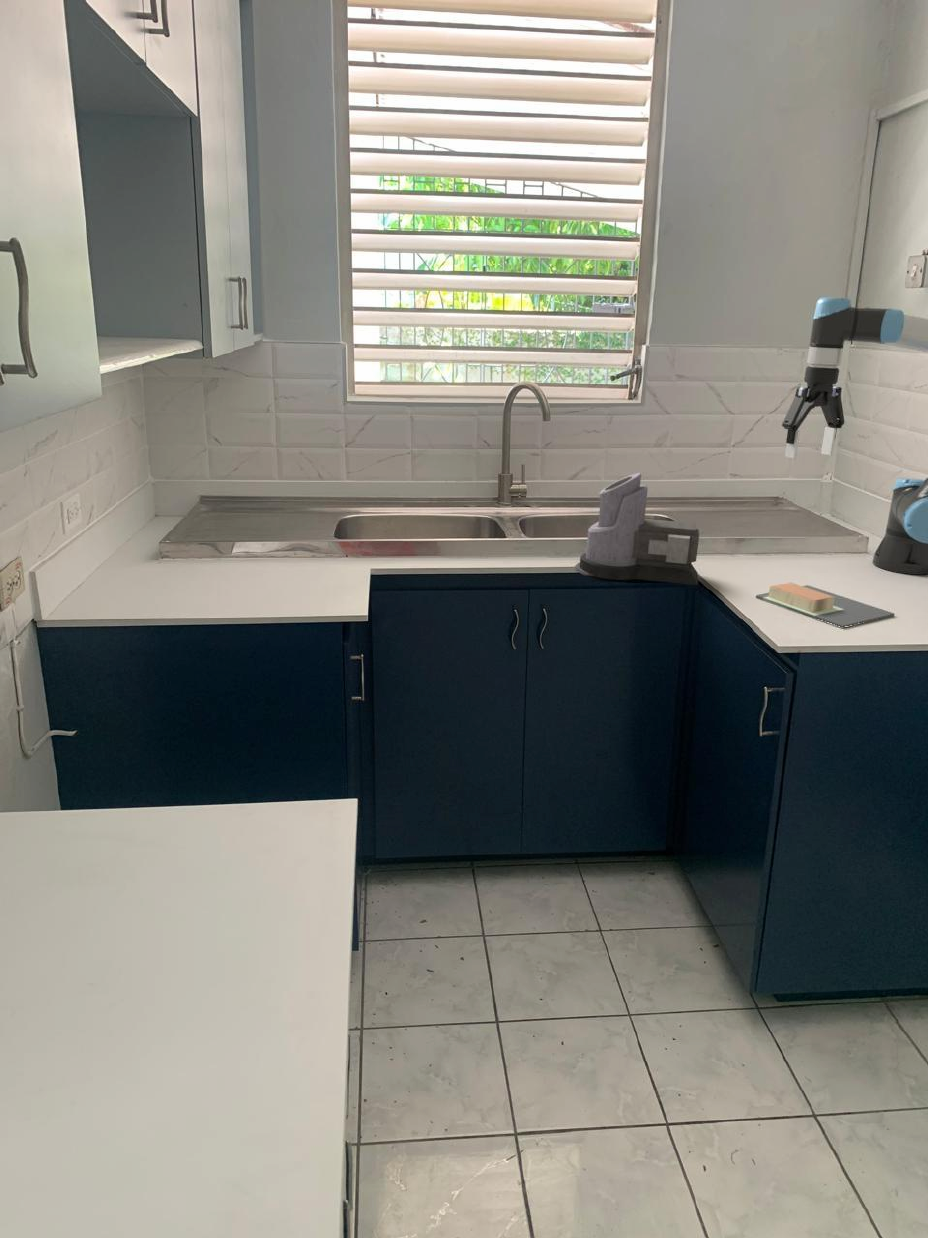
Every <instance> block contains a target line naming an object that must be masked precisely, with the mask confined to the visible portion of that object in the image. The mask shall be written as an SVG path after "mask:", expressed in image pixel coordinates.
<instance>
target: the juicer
mask: <svg viewBox="0 0 928 1238" xmlns="http://www.w3.org/2000/svg"><path fill="white" fill-rule="evenodd" d="M641 480H642V473H641V472H637V473H633V474H631V475H628V476H626V477H622V479H618V480H617V481H614V482H613V483H611V484H610V485H608V486H606V487H604V488H602V489H601V490H600V492H599V494H598V499H600V503H599V504H600V505H599V515H598V521H597V522H595V523H594V524H592V525H590V527H589V528H588V530H587V538H586V539H587V541H586V549H585V550H586V551H585V552H584V553H582V554H580V556H579V562H578V563H576V565H575V566H574V569H575V571H576V572H577V573H579V574H580V575H583V576H586V577H595V578H600V579H604V580H605V579H606V580H619V581H620V580H621V581H623V580H624V581H626V580H627V581H628V580H641V581H642V580H643V581H652V582H662V583H663V582H664V583H670V584H671V583H672V584H680V585H681V584H683V585H691V586H699V579H698V571H697V569H696V568H695V567H694V566H693V564H692V563H695V562H697V556H698V550H699V549H698V548H699V540H700V529H699V528H696V525H697V524H696V523H695V522H688V521H677V520H676V521H673V520H663V519H662V520H661V519H650V518H646V507H647V500H648V492H649V491H648V490H649V486H647V485H646V484H641Z"/></svg>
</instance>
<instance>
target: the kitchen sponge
mask: <svg viewBox="0 0 928 1238" xmlns="http://www.w3.org/2000/svg"><path fill="white" fill-rule="evenodd" d="M803 586H804V585H799V584H796V583H793V582H787V583H782V584H777V585H770V587H769V592H768V593H769V598H772V599H775V600H778V601H781V602H784V603H786V604H789V605H792V606H795V607H798V608H800V609H803V610H806V611H809V612H812V613H813V612H818V611H823V610H827V609H832V608H833V606H834V600H835V597H833V596H830V595H827V594H824V593H821V592H818V591H815V590H812V589H809V588H806V587H803Z"/></svg>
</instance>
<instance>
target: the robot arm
mask: <svg viewBox="0 0 928 1238" xmlns="http://www.w3.org/2000/svg"><path fill="white" fill-rule="evenodd" d="M851 301H852V300H851V299H850V298H848V297H847V298H846V297H844V298H843V297H825V296H824V297H820V298H819V299H818V300H817V301H816V305H815V309H814V315H813V318H812V319H813V320H812V327H811V334H810V342H809V349H808V355H807V360H806V361H807V362H806V363H807V364H808V366H806V368H805V372H804V379H803V381H804V383H806V387H801V386H798V387H796V390H795V395H794V397H793V400H792V402H791V404H790V407H789V408H788V410H787V413H786V415H785V417H784V419H783V421H782V423H781V426H782V427H783V428H784V429H785V430H787V433H786V441H785V442H786V446H785V452H784V457H786V458H791V459H796V458H797V453H798V446H799V440H800V434H801V430H799V428H800V426H802V424H803V422H804V421H805V419H806V418H807V417H808V415H809V414H810V412H811V411H812V410H813V409H814V408H817V407H818V408H819V407H820V408H821V411H822V414H823V417H824V419H825V422H826V424H827V426H825V427H824V433H823V438H822V445H821V449H820V454H822V455H827V456H832V455H833V450H834V446H835V440H836V436H837V431H838V429H842V427H843V426H844V425H845V415H844V409H843V403H842V402H843V401H842V389H843V388H842V387H841V386H834V385H837V384H838V381H839V375H840V368H838V367H839V366H841V364H842V358H843V351H844V345H845V342H846V341H847V342H859V343H860V342H862V343H875V344H879V345H881V344H882V345H885V346H886V345H887V346H892V347H897V348H901V349H907V350H911V351H917V352H923V353H928V318H926V317H925V318H924V317H919V316H914V315H908V314H905V313H904V311H903V310H901V309H897V308H896V309H893V308H877V307H875V308H871V307H855V306H854V307H853V306H852V303H851ZM872 558H873V559H872V564H873V565H874V566H876V567H878V568H880V569H884V570H885V571H889V572H895V573H900V574H906V573H907V575H928V476H927V477H926V478H925V479H920V478H919V479H918V478H898V479H897V480H896V481H895V484H894V487H893V489H892V497H891V503H890V507H889V513H888V518H887V523H886V529H885V533H884V536H883V537H882V540H881V542H880V543H879V545H878V547H876V550H875V552H874V554H873V557H872Z"/></svg>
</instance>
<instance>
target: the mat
mask: <svg viewBox="0 0 928 1238" xmlns="http://www.w3.org/2000/svg"><path fill="white" fill-rule="evenodd" d="M802 586H803V587H806V588H809V589H812V590H815V591H818V592H821V593H824V594H827V595H830V596H833V597H835V600H834V606H833V608H832V609H827V610H823V611H818V612H813V613H812V612H809V611H806V610H803V609H800V608H798V607H795V606H792V605H789V604H786V603H784V602H781V601H778V600H775V599H772V598H769V592H766V593H760V594H756V595H755V599H759V600H762V601H764V602H766V603H767V602H768V603H770V604H773V605H776V606H778V607H780V608H783V607H784V609H787V610H789V611H792V612H795V613H797V614H801V615H803V616H806V617H809V618H811V617H812V619H814V618H815V620H817V619H820V620H823V621H826V622H829V623H832V624H835V625H837V626H840V627H845V626H850V625H854V624H858V623H863V622H867V623H870V622H869V621H871V622H874V621H873V620H875V621H878V620H877V619H880V620H883V619H887V618H892V617H895V613H894V612H891V611H888V610H884V609H881V608H878V607H875V606H873V605H870V604H867V603H864V602H860V601H857V600H854V599H851V598H848V597H844V596H843V595H840V594H839V595H838V594H836V593H834V592H833V593H832V592H830V591H826V590H824V589H821V588H817V587H814V586H812V585H808V584H807V585H802ZM820 620H819V621H820ZM823 621H822V622H823ZM863 624H864V623H863ZM837 626H836V627H837ZM850 627H851V626H850Z"/></svg>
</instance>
